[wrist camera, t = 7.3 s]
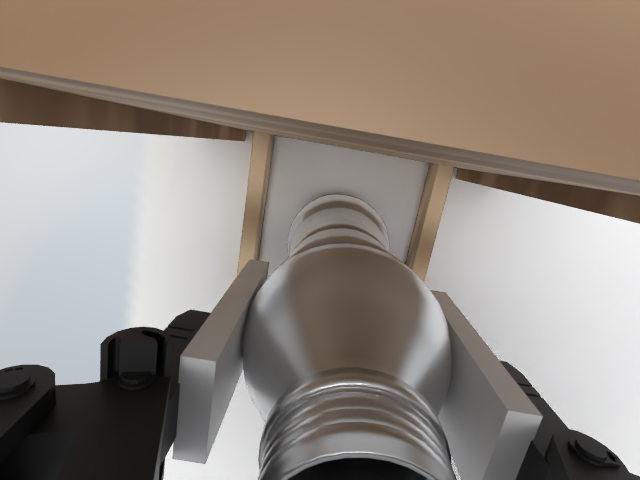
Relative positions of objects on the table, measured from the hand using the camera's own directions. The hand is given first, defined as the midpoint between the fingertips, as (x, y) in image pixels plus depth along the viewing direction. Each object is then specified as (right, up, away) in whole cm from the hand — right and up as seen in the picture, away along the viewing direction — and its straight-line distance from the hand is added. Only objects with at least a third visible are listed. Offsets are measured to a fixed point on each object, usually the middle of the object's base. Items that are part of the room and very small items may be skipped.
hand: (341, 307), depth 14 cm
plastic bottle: (0, +3, +11) cm, 12 cm away
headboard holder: (0, +3, +12) cm, 12 cm away
